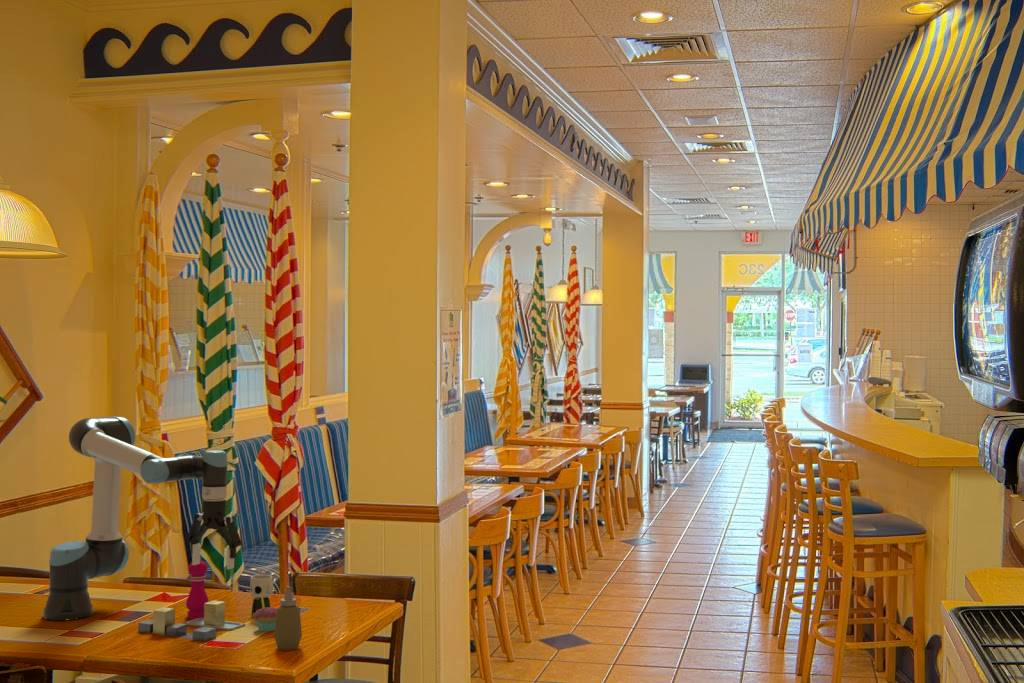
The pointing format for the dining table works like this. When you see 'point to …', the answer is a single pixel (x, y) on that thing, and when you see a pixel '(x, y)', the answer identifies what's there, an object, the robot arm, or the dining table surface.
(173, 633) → the gray notched bar
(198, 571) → the pepper mill
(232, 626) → the tray
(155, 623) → the cream upright block
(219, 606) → the beige rectangular block
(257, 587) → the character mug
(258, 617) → the cupcake
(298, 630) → the squeeze bottle
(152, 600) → the dining table surface
